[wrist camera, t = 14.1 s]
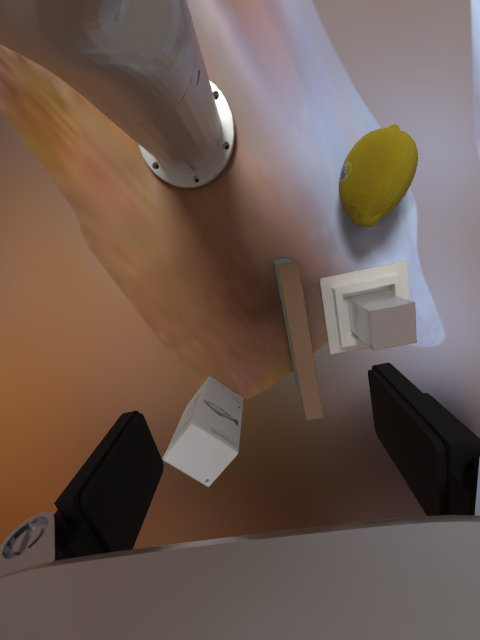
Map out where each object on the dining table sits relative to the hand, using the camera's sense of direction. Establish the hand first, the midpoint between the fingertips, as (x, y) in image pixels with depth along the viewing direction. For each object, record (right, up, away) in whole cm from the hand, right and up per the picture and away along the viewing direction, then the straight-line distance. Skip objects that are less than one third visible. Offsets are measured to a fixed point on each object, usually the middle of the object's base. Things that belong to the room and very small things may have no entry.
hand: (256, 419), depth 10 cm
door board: (+7, +3, +30) cm, 31 cm away
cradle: (+18, +6, +28) cm, 34 cm away
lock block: (+18, +5, +28) cm, 33 cm away
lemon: (+15, +22, +24) cm, 36 cm away
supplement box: (-5, -10, +34) cm, 36 cm away
